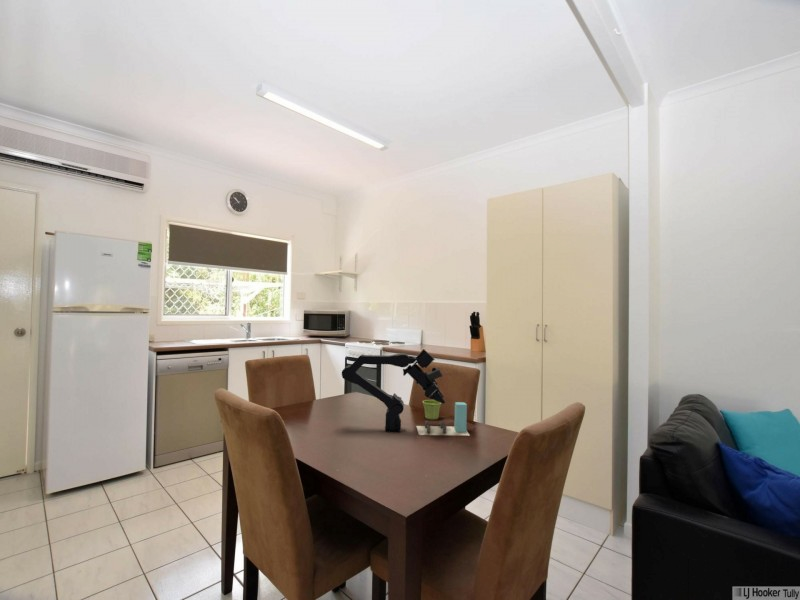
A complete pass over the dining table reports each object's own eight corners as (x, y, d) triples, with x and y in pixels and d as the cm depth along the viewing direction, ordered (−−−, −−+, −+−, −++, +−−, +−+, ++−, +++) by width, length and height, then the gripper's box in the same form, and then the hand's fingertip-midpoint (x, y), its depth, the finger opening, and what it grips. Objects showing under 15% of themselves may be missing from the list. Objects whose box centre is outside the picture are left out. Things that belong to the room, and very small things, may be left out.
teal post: (456, 432, 164) (456, 404, 164) (454, 429, 168) (454, 402, 168) (466, 432, 164) (466, 404, 164) (463, 429, 168) (464, 402, 169)
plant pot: (418, 417, 188) (419, 400, 188) (435, 416, 192) (435, 399, 192) (427, 423, 179) (428, 404, 179) (444, 421, 183) (445, 403, 183)
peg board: (418, 437, 159) (419, 427, 159) (416, 428, 171) (416, 419, 171) (470, 437, 160) (470, 428, 160) (463, 428, 172) (464, 420, 172)
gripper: (432, 365, 158) (458, 392, 157) (430, 359, 177) (454, 383, 176) (413, 384, 158) (440, 410, 157) (414, 376, 177) (437, 400, 176)
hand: (443, 400), depth 167 cm, fingers open, 9 cm apart
